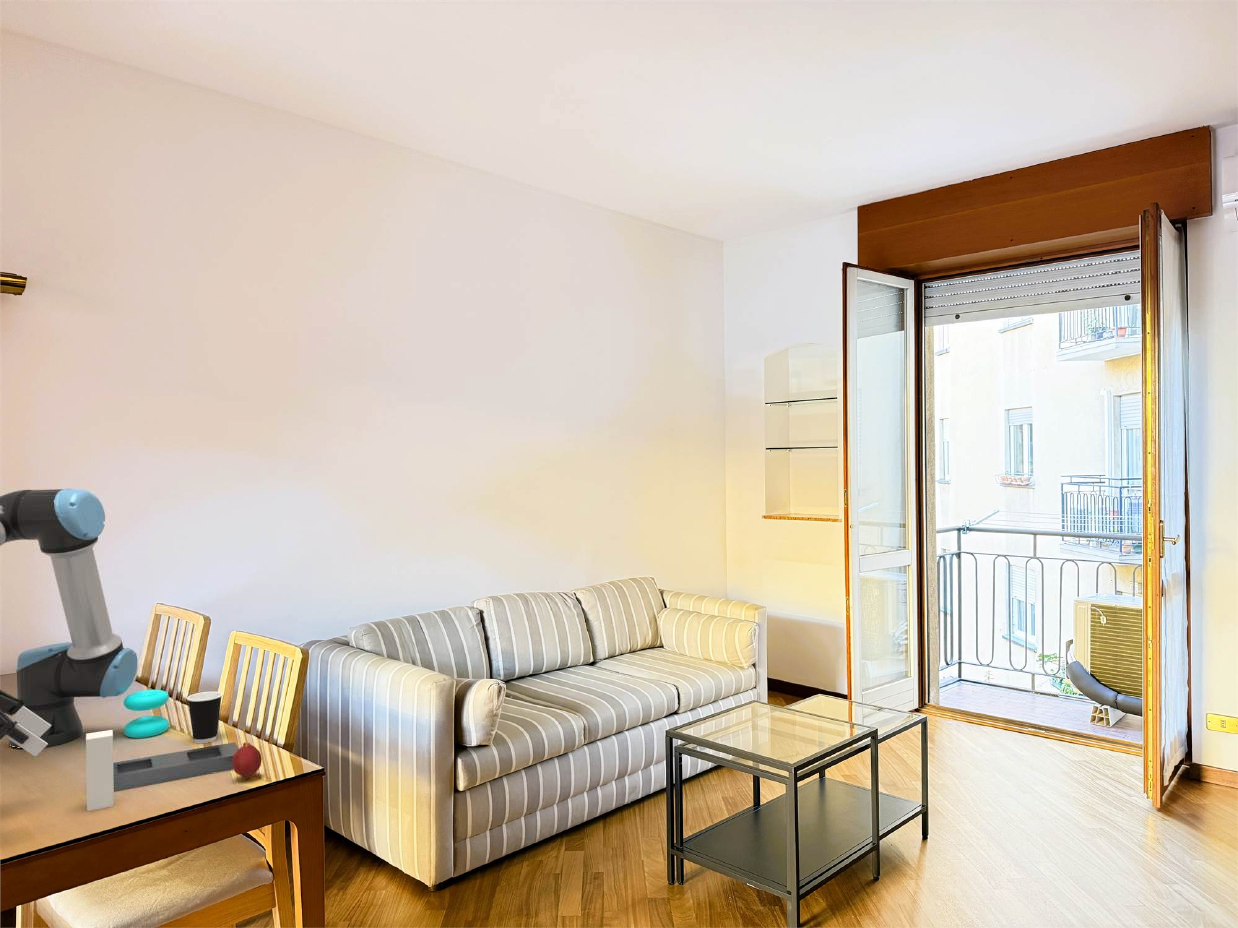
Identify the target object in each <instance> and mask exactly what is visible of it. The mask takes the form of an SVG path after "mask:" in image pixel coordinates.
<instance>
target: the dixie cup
mask: <svg viewBox="0 0 1238 928" xmlns="http://www.w3.org/2000/svg"><path fill="white" fill-rule="evenodd" d="M222 697H223V693H222V692H220V691H202V692H197V693H193V694H191V695H188V696H187V697H186V700H187V701H188V711H189V718H190V724H191V725H190V726H191V731H192V738H193V739H194V743H195V744H199V743H201V744H208V742H209V743H212V742H215V741H216V740H217V736H218V733H219V726H220V724H219V723H220V713H221V704H222ZM214 740H215V741H214ZM211 741H212V742H211Z"/></svg>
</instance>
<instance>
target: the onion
mask: <svg viewBox="0 0 1238 928" xmlns="http://www.w3.org/2000/svg"><path fill="white" fill-rule="evenodd" d="M262 759H263V758H262V754H261V752H260V750H259V749H258V748H257V747H256V746H254V745H253V744H251V743H250V742H248V741H244V742H243V743H242V746H241V747H239V749H238V751H237V752H236V753H235V755H234V757H233V760H232V766H233V769H232V770H233V771H234V773H236V774H237V775H238V776H240V777H242V778H243V779H244V778H245V779H246V780H248V779H250V778H251V777H252V776H254V775H255V774H256V773H257V772H258V771H259V769H260V767H261V766H262ZM247 778H248V779H247ZM245 779H244V780H245Z"/></svg>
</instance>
